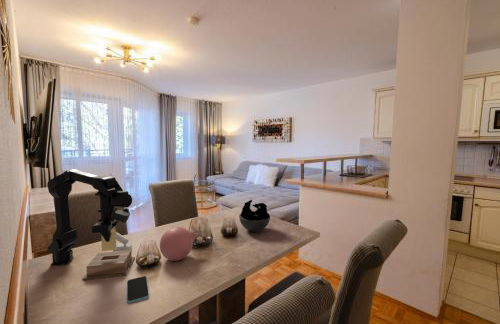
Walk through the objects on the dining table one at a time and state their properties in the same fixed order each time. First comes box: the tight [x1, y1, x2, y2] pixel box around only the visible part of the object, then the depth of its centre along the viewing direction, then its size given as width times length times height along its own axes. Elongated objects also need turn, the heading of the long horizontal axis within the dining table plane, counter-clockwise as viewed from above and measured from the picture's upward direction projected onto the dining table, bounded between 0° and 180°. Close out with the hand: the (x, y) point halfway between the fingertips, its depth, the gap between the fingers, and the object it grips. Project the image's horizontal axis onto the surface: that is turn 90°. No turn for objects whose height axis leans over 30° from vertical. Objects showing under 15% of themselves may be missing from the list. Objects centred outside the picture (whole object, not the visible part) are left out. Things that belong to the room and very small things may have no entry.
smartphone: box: [126, 275, 150, 304], centre depth 88 cm, size 7×1×15 cm
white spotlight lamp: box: [112, 231, 133, 252], centre depth 119 cm, size 9×10×10 cm
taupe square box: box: [82, 249, 136, 281], centre depth 102 cm, size 15×16×5 cm
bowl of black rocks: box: [238, 199, 271, 233], centre depth 147 cm, size 20×20×19 cm
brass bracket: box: [100, 226, 117, 252], centre depth 100 cm, size 2×5×10 cm, turn 103°
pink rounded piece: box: [159, 226, 201, 262], centre depth 112 cm, size 15×20×15 cm
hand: (108, 240), depth 100 cm, fingers closed on brass bracket, 2 cm apart
